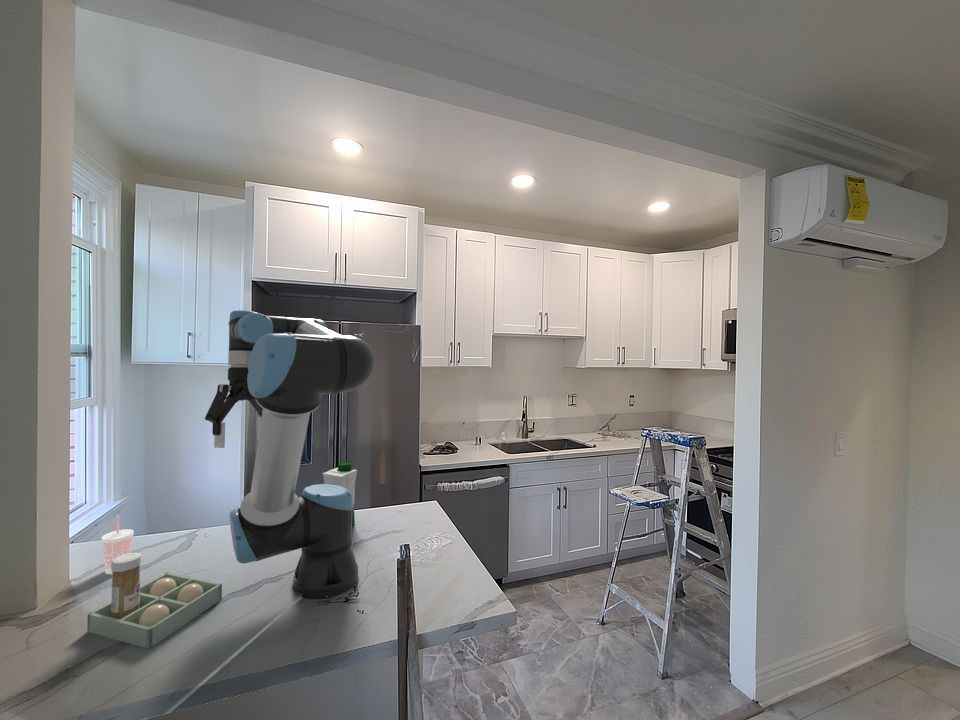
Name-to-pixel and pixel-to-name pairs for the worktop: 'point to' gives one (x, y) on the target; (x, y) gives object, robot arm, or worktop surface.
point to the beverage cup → (116, 545)
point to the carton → (179, 611)
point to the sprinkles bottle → (125, 584)
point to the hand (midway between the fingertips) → (241, 443)
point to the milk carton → (343, 479)
